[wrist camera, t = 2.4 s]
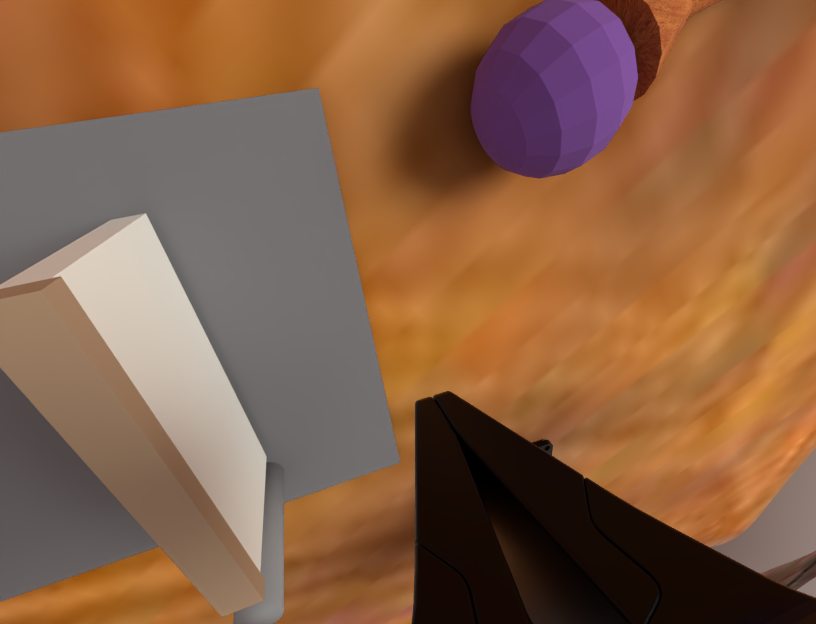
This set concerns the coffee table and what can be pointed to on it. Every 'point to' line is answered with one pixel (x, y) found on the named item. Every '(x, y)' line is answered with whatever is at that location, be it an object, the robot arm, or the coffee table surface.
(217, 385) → the gate
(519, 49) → the kendama
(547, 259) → the coffee table surface
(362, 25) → the coffee table surface
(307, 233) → the flat gray base plate
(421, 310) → the coffee table surface
